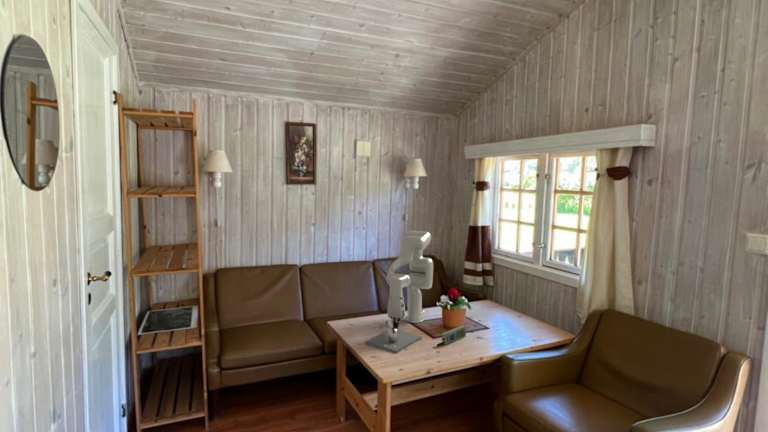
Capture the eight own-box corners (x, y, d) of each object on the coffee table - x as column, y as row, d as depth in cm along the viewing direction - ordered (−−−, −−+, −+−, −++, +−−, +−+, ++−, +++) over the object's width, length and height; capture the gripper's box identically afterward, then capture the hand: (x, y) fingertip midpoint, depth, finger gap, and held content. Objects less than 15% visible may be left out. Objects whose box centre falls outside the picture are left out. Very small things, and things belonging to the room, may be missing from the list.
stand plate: (391, 330, 267) (391, 327, 267) (421, 338, 254) (421, 335, 254) (365, 343, 247) (365, 340, 247) (396, 353, 234) (396, 350, 233)
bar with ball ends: (384, 329, 264) (384, 317, 263) (392, 329, 264) (392, 317, 263) (389, 345, 239) (389, 332, 239) (398, 345, 240) (398, 331, 239)
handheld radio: (466, 336, 258) (439, 348, 241) (462, 335, 260) (435, 346, 243) (466, 325, 257) (439, 336, 240) (462, 324, 260) (435, 335, 243)
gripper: (410, 298, 250) (409, 329, 252) (389, 294, 259) (389, 324, 261) (403, 301, 244) (402, 332, 246) (381, 297, 253) (381, 327, 254)
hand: (395, 328), depth 253 cm, fingers closed
